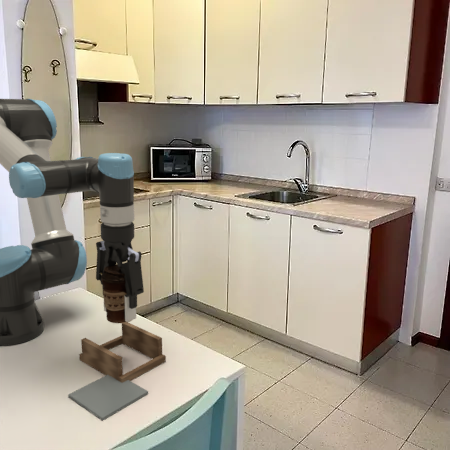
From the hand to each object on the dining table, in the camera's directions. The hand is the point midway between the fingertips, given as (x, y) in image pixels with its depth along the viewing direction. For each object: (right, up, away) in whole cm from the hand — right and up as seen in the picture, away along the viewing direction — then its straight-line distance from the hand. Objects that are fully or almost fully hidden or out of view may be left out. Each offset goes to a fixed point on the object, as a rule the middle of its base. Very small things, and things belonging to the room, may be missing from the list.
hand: (119, 314), depth 112 cm
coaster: (0, -15, -11) cm, 19 cm away
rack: (0, -12, +3) cm, 12 cm away
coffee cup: (0, -1, 0) cm, 1 cm away
